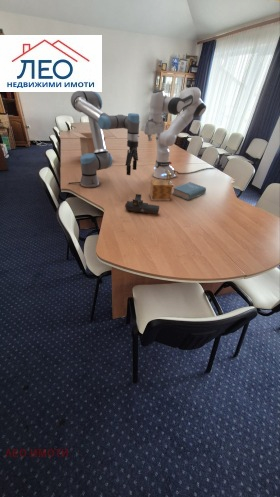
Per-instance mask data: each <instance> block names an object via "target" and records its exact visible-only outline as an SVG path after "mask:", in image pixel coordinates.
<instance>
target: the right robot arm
mask: <svg viewBox="0 0 280 497" xmlns="http://www.w3.org/2000/svg"><path fill="white" fill-rule="evenodd" d="M201 95H202V92H201V89H200V88H199V87H198V86H197V87H196V86H191V87H187V88H185V89H182V90H181V91H180V92H179V95H178V97H177V96H176V97H175V96H168V95H166V93H165V91H164V90H163V89H155V90H153V91H152V92H151V96H150V103H149V108H150V110H149V117H148V119H147V120H146V122H145V125H144V131H143V132H144V135H147V141H148V142H152V141H153V140H152V135H154V139H155V141H156V159H155V165H154V167H153V169H154V171H153V175H152V176H153V177H154V178H156V179H160V180H161V179H162V180H167V171H169V172H170V174H171V177H170V179H173V178H177V175H176V174H178V175H187V174H194V173H198V172H200V171H205V170H211V169H212V170H213V169H218V170H220V167H219V166H216V167H206V168H202V169H197V170H195V171H191V172H178V171H177V170H175V169H174V168H173V167H172V166H171V165H172V164H173V162H172V161H169V158H170V149H169V147H172V146H175V143H176V141H177V140H176V139H177V138H178V136H179V134H181V132H182V131H183V130H184V129H185V128H186V127H187V126H189V124H190V123H191V122H192V121H193V120H194V119H195V118H199V117H202V116H203V115H204V114H205V112H206V110H207V105H206V103H205V102H204V101H203V100H202V99H201ZM163 114H169V115H173V116H176V117H175V118H174V119H173V120H171V122H170V125H169V127H168V129H165V127H166V121H167V118H166V117H165V116H164V115H163ZM168 180H169V176H168Z"/></svg>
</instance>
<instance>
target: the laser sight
mask: <svg viewBox="0 0 280 497" xmlns="http://www.w3.org/2000/svg"><path fill="white" fill-rule="evenodd" d="M124 207H125V210H127V211H130V212H134V213H140V214H141V213H142V214H153V215H159V211H160V205H156V204H149V203H148V202H144V199H142V194H141V193H140V194H139V193H135V197H134V198H133V199H132V200H127V201H126V202H125V204H124Z"/></svg>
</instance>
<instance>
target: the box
mask: <svg viewBox="0 0 280 497" xmlns="http://www.w3.org/2000/svg"><path fill="white" fill-rule="evenodd" d="M102 132H103V138H104V143H105V144H106V138H113V137H114V136H113V135H111V134H109V133H108V132H105V131H102ZM70 133H71V134H72V135H74V136H75V137H77V138H79V144H80V153H81V156H82V155H83V154H86V153H93V154H94V151H95V148H94V143H93V138H92V133H91V130H77V132H76V131H70Z"/></svg>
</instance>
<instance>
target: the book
mask: <svg viewBox="0 0 280 497" xmlns="http://www.w3.org/2000/svg"><path fill="white" fill-rule="evenodd" d="M172 190H173V191H172V195H175V196H177V197H179V198H182V199H183V200H186V201H189V200H192V199H194V198H196V197H199V196H202V195H203V194H206V192H207V187H206V186H202V185H199V184H197V183H194V182H192V181H189V182H185V183H183V184H181V185H178V186H174V187H172Z"/></svg>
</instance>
